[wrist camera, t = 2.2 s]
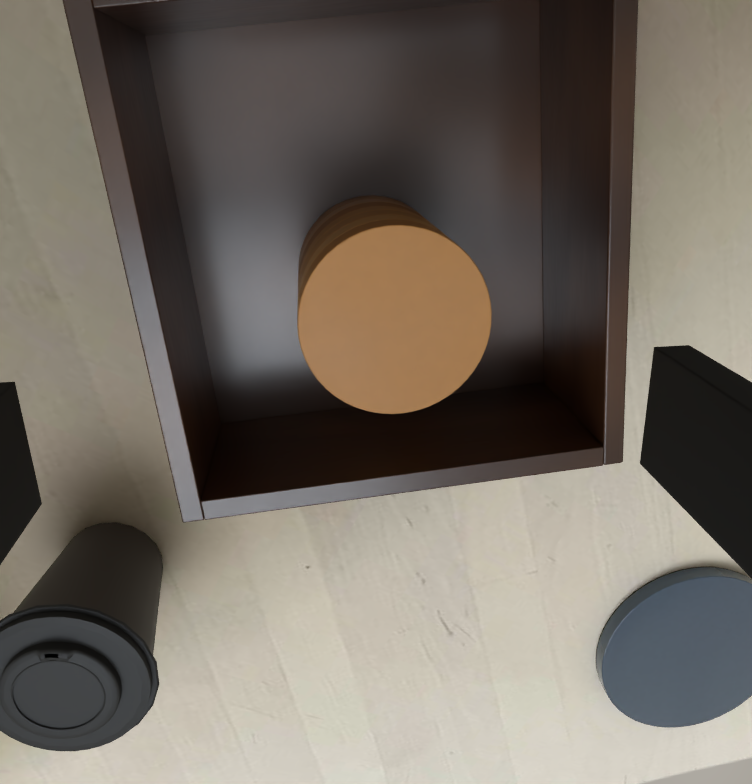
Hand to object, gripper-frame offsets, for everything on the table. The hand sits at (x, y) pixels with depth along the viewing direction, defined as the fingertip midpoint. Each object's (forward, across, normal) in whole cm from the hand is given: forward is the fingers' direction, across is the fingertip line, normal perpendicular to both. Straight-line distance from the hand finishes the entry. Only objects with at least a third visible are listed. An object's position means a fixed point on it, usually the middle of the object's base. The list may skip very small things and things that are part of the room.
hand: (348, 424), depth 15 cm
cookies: (+21, +2, -1) cm, 21 cm away
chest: (+22, +2, +1) cm, 22 cm away
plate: (+22, +22, -27) cm, 41 cm away
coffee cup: (+22, -13, -17) cm, 30 cm away
